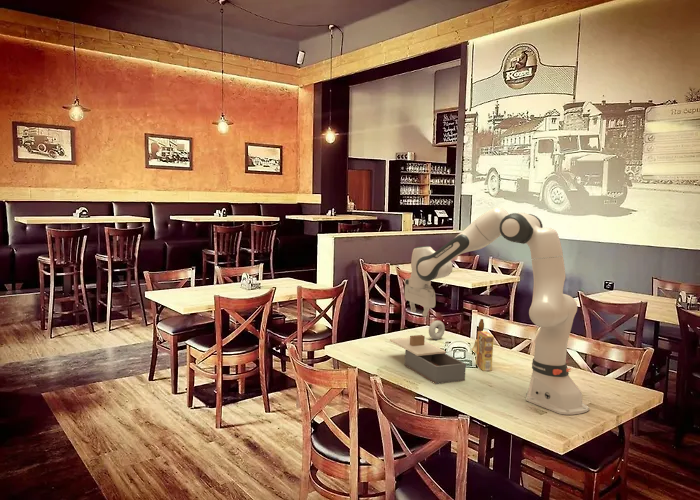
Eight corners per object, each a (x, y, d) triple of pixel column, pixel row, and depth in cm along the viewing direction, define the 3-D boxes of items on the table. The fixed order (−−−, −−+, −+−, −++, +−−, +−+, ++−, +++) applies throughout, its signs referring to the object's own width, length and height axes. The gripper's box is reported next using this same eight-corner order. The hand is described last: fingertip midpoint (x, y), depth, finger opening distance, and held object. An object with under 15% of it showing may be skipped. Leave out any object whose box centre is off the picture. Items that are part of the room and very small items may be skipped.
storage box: (464, 380, 217) (465, 363, 216) (435, 384, 211) (436, 367, 211) (432, 362, 239) (432, 347, 238) (404, 365, 233) (405, 349, 232)
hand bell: (478, 348, 265) (480, 316, 264) (491, 352, 258) (493, 320, 257) (466, 350, 260) (468, 318, 259) (479, 355, 254) (482, 321, 252)
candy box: (492, 371, 231) (494, 336, 229) (482, 371, 230) (485, 336, 228) (484, 364, 239) (486, 330, 238) (475, 364, 239) (477, 330, 237)
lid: (445, 353, 229) (446, 342, 229) (417, 355, 223) (418, 344, 223) (416, 338, 251) (416, 328, 250) (389, 340, 245) (390, 330, 245)
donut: (441, 337, 283) (442, 318, 282) (445, 339, 280) (446, 320, 279) (426, 339, 277) (427, 320, 276) (431, 341, 275) (432, 322, 274)
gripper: (440, 286, 226) (438, 318, 227) (414, 279, 245) (413, 309, 246) (427, 287, 223) (425, 319, 225) (402, 279, 242) (401, 309, 243)
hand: (418, 314), depth 236 cm, fingers open, 8 cm apart
